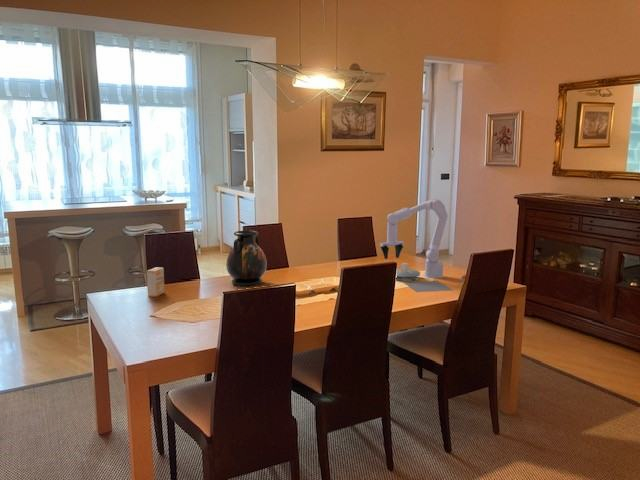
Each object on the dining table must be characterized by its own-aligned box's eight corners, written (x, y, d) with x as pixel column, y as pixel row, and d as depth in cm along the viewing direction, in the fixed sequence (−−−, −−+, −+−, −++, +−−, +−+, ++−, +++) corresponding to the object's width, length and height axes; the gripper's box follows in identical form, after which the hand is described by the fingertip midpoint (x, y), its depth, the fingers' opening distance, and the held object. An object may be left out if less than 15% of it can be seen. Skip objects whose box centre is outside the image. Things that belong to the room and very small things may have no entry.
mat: (437, 281, 281) (437, 280, 281) (453, 290, 261) (453, 290, 261) (402, 283, 277) (402, 282, 277) (416, 292, 258) (416, 291, 258)
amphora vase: (249, 290, 261) (248, 236, 256) (218, 285, 272) (216, 232, 267) (275, 281, 279) (274, 231, 274) (244, 277, 290) (243, 228, 286)
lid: (400, 268, 298) (401, 259, 297) (426, 273, 286) (426, 263, 285) (383, 273, 286) (383, 263, 285) (408, 278, 274) (409, 268, 273)
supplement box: (156, 297, 248) (155, 270, 246) (147, 296, 249) (146, 270, 247) (165, 292, 256) (164, 267, 254) (156, 292, 257) (155, 266, 255)
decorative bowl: (422, 279, 288) (398, 275, 297) (422, 273, 287) (398, 269, 296) (410, 284, 276) (385, 280, 285) (410, 278, 276) (385, 274, 284)
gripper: (385, 236, 283) (384, 260, 285) (406, 234, 289) (406, 258, 291) (378, 234, 289) (377, 258, 291) (399, 233, 295) (399, 256, 297)
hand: (391, 258), depth 292 cm, fingers open, 7 cm apart
